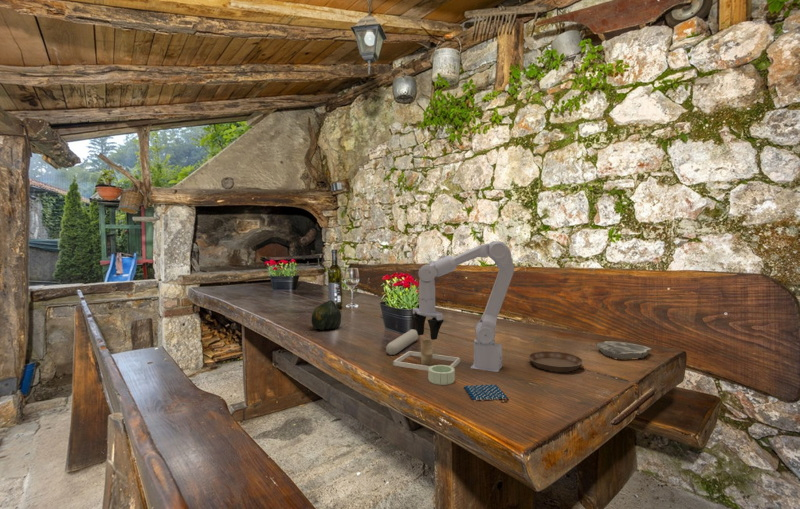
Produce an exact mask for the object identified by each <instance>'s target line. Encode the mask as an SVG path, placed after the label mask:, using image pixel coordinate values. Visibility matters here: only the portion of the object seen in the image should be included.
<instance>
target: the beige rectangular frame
mask: <svg viewBox="0 0 800 509" xmlns="http://www.w3.org/2000/svg"><path fill="white" fill-rule="evenodd" d="M410 356H413V357H420V358H421V351H412V350H409V351H406V352H405V353H403V354H401V356H398V357H397V358H396V359H394V360H392V366H395V367H401V368H408V369H413V370H414V369H415V370H420V371H427V372H428V368H429V367H430V366H431V365H422V364H418V363H410V362H404V360H406V358H408V357H410ZM433 359H434V360H441V361H448V362H452V363H451V364H450V365H449V366H451V367H453V368H454V369H455V367H457V366H458V364H459V363H461V357H457V356H456V357H455V356H450V355H442V354H434V353H433V356H432V360H433Z"/></svg>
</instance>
